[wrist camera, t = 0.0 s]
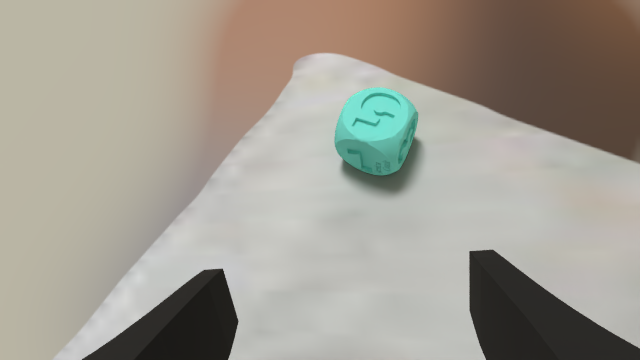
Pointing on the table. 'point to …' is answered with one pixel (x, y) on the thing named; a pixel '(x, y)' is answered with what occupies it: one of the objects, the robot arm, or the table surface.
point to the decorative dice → (376, 130)
